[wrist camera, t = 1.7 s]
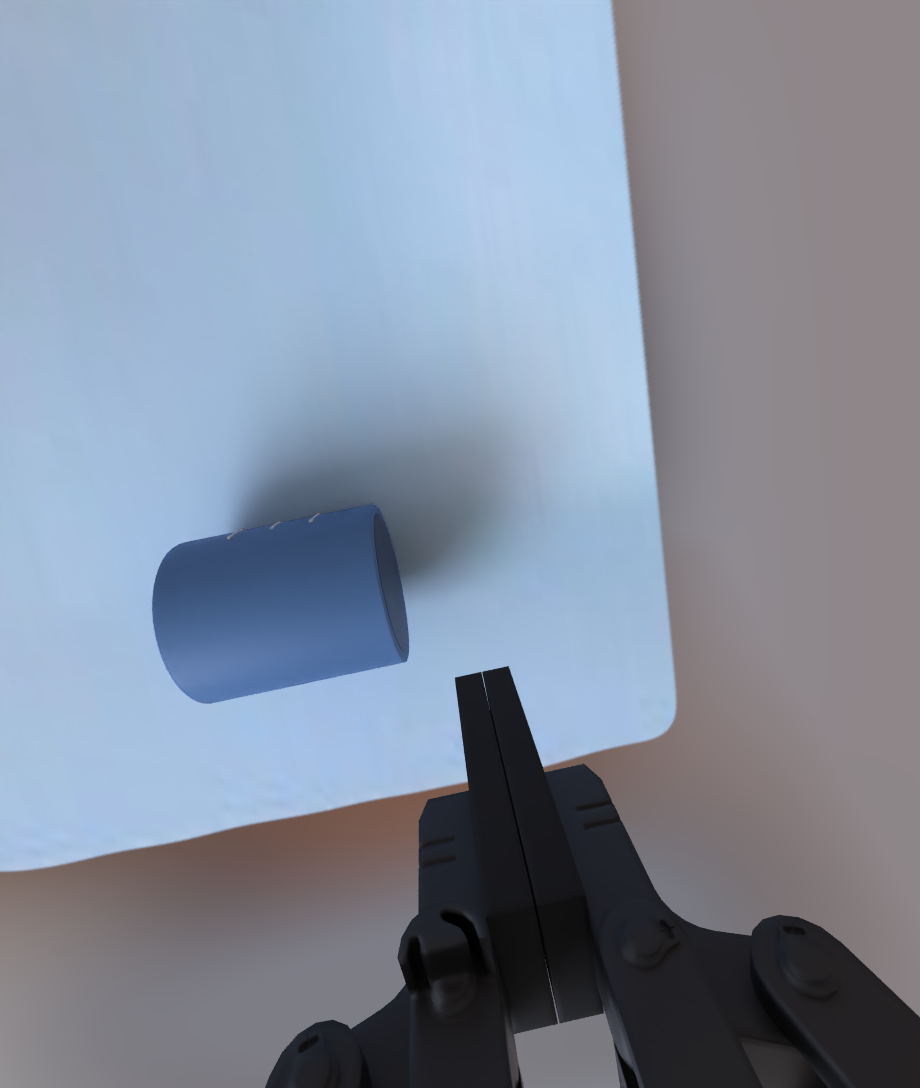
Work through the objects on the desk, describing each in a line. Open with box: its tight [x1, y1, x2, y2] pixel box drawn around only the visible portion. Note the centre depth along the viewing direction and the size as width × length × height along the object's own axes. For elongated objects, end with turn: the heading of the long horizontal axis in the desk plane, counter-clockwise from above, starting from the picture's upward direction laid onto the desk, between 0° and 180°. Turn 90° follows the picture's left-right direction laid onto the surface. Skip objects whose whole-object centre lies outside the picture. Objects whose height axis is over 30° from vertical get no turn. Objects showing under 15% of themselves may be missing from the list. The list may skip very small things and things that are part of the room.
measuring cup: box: [152, 504, 409, 703], centre depth 25 cm, size 10×8×8 cm
